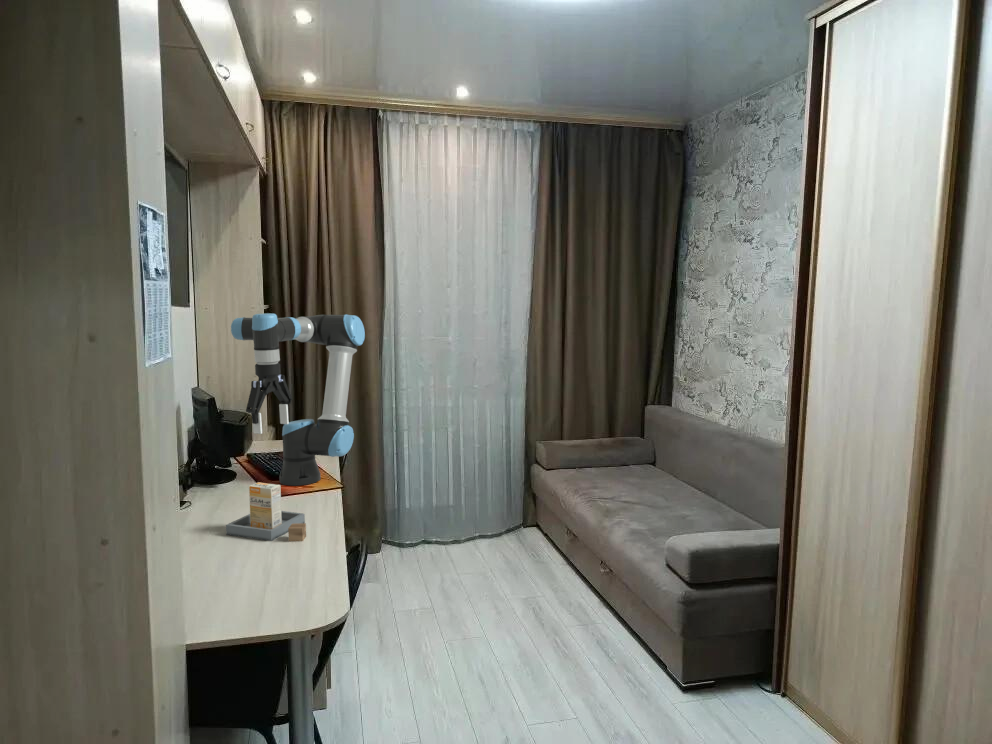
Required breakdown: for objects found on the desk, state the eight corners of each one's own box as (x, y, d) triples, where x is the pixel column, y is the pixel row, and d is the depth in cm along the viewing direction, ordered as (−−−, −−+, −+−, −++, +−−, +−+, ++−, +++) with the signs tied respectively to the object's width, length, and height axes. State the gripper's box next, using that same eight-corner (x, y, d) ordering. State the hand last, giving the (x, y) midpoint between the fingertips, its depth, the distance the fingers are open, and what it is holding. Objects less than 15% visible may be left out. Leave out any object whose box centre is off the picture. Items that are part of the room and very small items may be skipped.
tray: (261, 517, 209) (261, 508, 209) (304, 523, 204) (304, 513, 204) (226, 534, 194) (225, 524, 194) (271, 541, 189) (271, 531, 189)
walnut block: (292, 536, 193) (292, 523, 193) (306, 536, 193) (305, 523, 193) (288, 541, 189) (288, 528, 189) (302, 541, 189) (302, 528, 189)
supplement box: (249, 528, 198) (247, 485, 197) (260, 522, 203) (258, 481, 201) (272, 531, 196) (270, 488, 194) (282, 525, 200) (281, 484, 199)
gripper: (281, 357, 220) (285, 419, 223) (230, 367, 197) (235, 437, 200) (300, 358, 218) (304, 420, 221) (251, 368, 194) (256, 438, 197)
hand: (271, 428), depth 210 cm, fingers open, 13 cm apart
